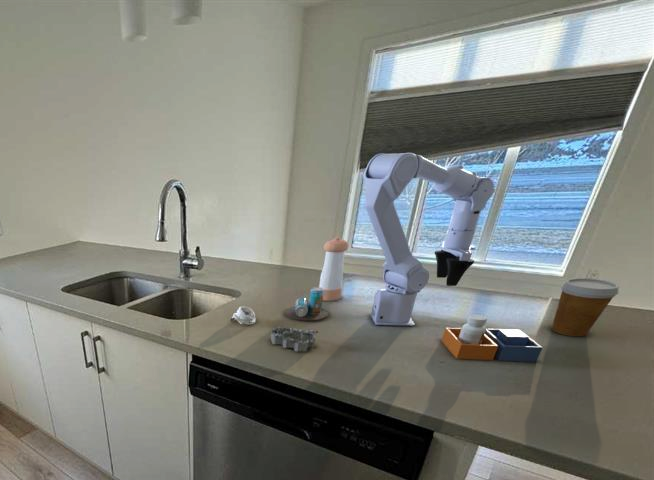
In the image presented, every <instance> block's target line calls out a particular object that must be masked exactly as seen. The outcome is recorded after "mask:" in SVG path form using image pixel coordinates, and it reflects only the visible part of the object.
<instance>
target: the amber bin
mask: <svg viewBox="0 0 654 480" xmlns="http://www.w3.org/2000/svg"><path fill="white" fill-rule="evenodd" d="M461 329H462V327H445V329H444V330H443V335H442V338H441V342H442V343H443V344H444V346H445V347H446V348H447V349H448V350H449V352H450V353H451V354H452V355H453V356H454V358H455V359H456V360H483V361H493V360H494V358H495V357H494V356H495V353H496V351H497V348H498V345H497V344H495V343H494V342H493V341H492V340H491V339H490V338H489V337H488V336H487V335H486V334H484V337H483V339H482V342H481V345H476V344H462V343H461V342H460V340H459V339H458V337H459V335H460V332H461Z"/></svg>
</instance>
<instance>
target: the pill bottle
mask: <svg viewBox="0 0 654 480" xmlns="http://www.w3.org/2000/svg"><path fill="white" fill-rule="evenodd" d="M487 321H488V317H487V316H485V315H482V314H469V315H468V316H467V318H466V323H464V324H463V325H462V326H461V328H462V329H461V332H460V335H459V337H458V339H459V340H460V342H461V343H462V344H476V345H481V342H482V339H483V337H484V334H485V331H486V329H487V328H486V326H485V325H486V324H487Z"/></svg>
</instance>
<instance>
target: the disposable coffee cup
mask: <svg viewBox="0 0 654 480" xmlns="http://www.w3.org/2000/svg"><path fill="white" fill-rule="evenodd" d="M619 287H620V286H619V284H618V283H616V282H614V281H613V282H612V281H608V280H605V279H598V278H587V277H586V278H585V277H576V278H575V277H573V278H568V279H567V280H566V281H565V282H564V283H563V284H561V286H560V288H561V293H560V297H559V301H558V303H557V308H556V311H555V315H554V319H553V322H552V326H551V331H553V332H555V333H557V334H559V335H564V336H568V337H569V336H570V337H584V336H587V335H588V333H590V330H591V329H592V328H593V326H594V324H595V323H596V322H597V321H598V319H599V318H600V317H601V315H602V314H603V312H604V311H605V309H606V308H607V306H608V305H609V304H610V303H611V301H612V300H613V298H614V297H616V296H617V295H619V294H620V291H619Z"/></svg>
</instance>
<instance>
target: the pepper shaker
mask: <svg viewBox="0 0 654 480" xmlns="http://www.w3.org/2000/svg"><path fill="white" fill-rule="evenodd" d="M349 248H350V244H349V242H348V241H347V240H345V239H341V237H339V236H336V237H334V238H333V239H330V240H328V241H326V242H325V244H324V245H323V249H324V251H325V256H324V263H323V267H322V270H321V273H320V278H319V285H318V286H317V287H321V288H323V291H324V294H323V301H325V302H335V301H339V300H340V299H341V297H342V291H343V286H342V284H343V278H344V261H345V254H346V251H348V249H349Z"/></svg>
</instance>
